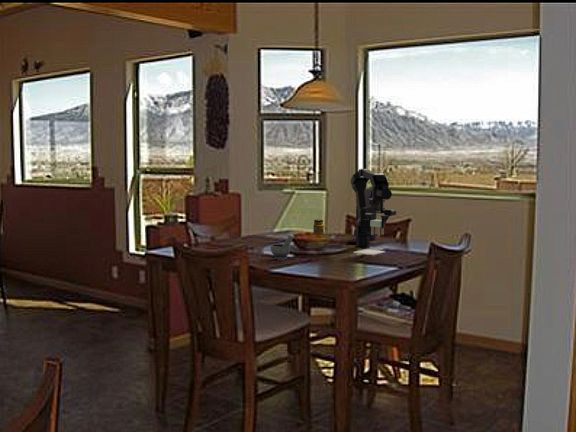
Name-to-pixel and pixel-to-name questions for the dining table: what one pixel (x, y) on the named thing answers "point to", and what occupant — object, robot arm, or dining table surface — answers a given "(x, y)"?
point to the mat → (369, 252)
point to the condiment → (318, 227)
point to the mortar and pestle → (282, 249)
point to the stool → (376, 227)
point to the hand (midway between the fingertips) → (377, 228)
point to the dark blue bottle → (368, 200)
